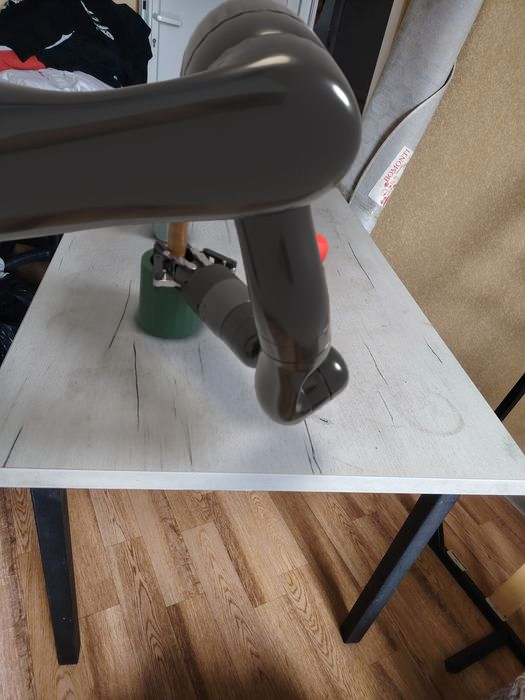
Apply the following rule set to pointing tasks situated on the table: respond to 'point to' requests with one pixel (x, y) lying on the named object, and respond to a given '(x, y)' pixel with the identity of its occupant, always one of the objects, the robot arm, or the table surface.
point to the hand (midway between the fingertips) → (167, 244)
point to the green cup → (163, 306)
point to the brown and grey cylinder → (178, 238)
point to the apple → (322, 246)
